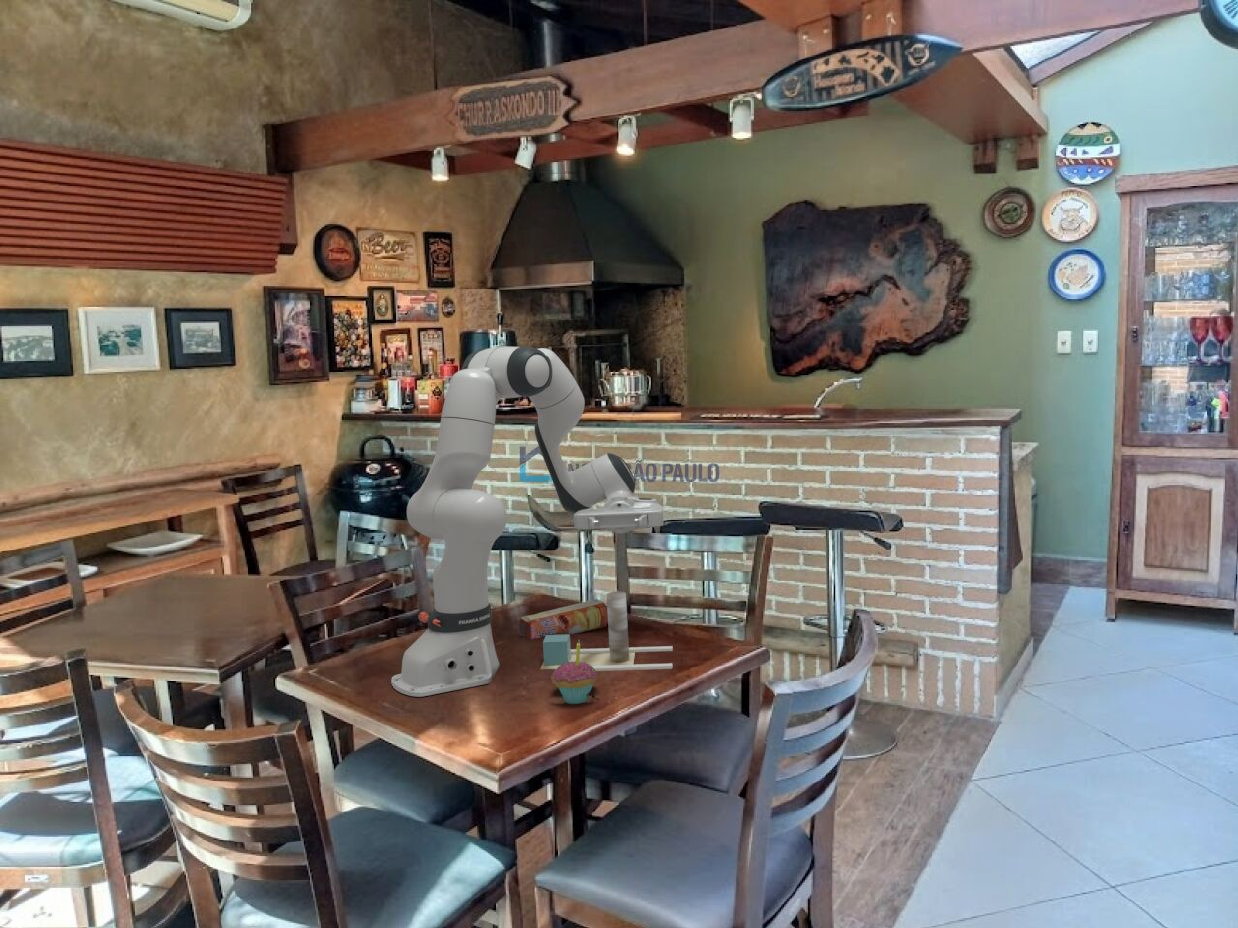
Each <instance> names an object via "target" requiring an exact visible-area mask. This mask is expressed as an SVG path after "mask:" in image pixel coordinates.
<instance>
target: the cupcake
mask: <svg viewBox="0 0 1238 928" xmlns="http://www.w3.org/2000/svg"><path fill="white" fill-rule="evenodd" d="M577 641H578V642H577V643H576V648H575V649H576V662H572V661H571V662H566V663H564V664H561V665H560V666H559V667H558V668H557V669H553V672H552V674H551V676H550V679H551V682H552V684H553V685H554V686H555V687H557V688H558V690H559V692H560V694H561V696H562V697H561V698H562V699H563V701H564V703H566V704H570V705H578V704H583V703H585V702H587V701H588V700H589V699H590V692H591V691H592V688H593V686H594V684H595V682H596V681H597V676H598V675H597V671H595V669H594V668H593V667H592V666H591V665H590V664H586V663H585V662H579V658H580V649H581V643H580V639H578V640H577Z"/></svg>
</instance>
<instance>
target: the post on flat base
mask: <svg viewBox="0 0 1238 928" xmlns="http://www.w3.org/2000/svg"><path fill="white" fill-rule="evenodd" d="M606 607H607V612H608V620H607V624H608V628H607V629H608V645H609V646H608V648H610V653H591V654H580V658H579V662H585V663H586V664H590V665H591V666H604V665H635V664H634V661H635V656H636V652H629V646H630V645H629V630H628V627H629V625H628V607H627V593H626V592H625V591H621V590H620V591H618V590H617V591H610V592H607V593H606ZM571 661H572V662H576V654H571V659H570V662H571ZM559 666H560V665H556V666H544V661H543V662H542V664H541V667H540V670H555V669H557V668H558V667H559Z"/></svg>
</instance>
